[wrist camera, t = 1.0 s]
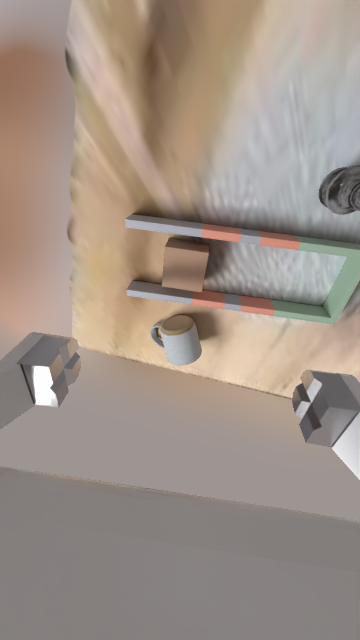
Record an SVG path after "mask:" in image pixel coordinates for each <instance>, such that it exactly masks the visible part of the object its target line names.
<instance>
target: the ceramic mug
mask: <svg viewBox="0 0 360 640" xmlns="http://www.w3.org/2000/svg"><path fill="white" fill-rule="evenodd" d="M156 327H159V328H161V329H160V331H161V338H162V341H161V340H160V339H159V338H158V336H157V333H156ZM150 333H151V337H152V339H153V341H154V342H155V343H156V344H157V345H158V346H160V347H162V348H164V349H165V353H166V357H167V359H168V361H169V362H170V363H172V364H174V365H187V364H190V363H193V362H194V361H196V360H197V359H198V358H199V357H200V355H201V352H202V349H201V345H200V341H199V336H198V333H197V328H196V325H195V322H194V320H193V319H192V318H191V317H189V316H186V315H177V316H173V317H170V318H168V319H167V320H165V321H164V322H163V323H157V324H155V325H154V326H153V327H152V328H151V331H150Z"/></svg>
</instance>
